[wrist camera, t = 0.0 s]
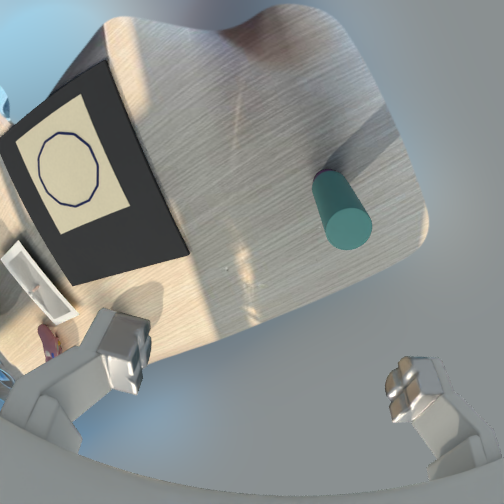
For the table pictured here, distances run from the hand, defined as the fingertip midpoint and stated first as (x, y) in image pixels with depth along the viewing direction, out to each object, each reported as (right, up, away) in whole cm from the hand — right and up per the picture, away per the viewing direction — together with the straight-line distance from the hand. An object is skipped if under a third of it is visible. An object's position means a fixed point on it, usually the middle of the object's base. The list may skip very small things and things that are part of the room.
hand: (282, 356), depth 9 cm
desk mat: (-21, +10, +23) cm, 33 cm away
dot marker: (+7, +10, +22) cm, 25 cm away
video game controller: (-38, -14, +40) cm, 57 cm away
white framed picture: (-34, -2, +32) cm, 47 cm away
